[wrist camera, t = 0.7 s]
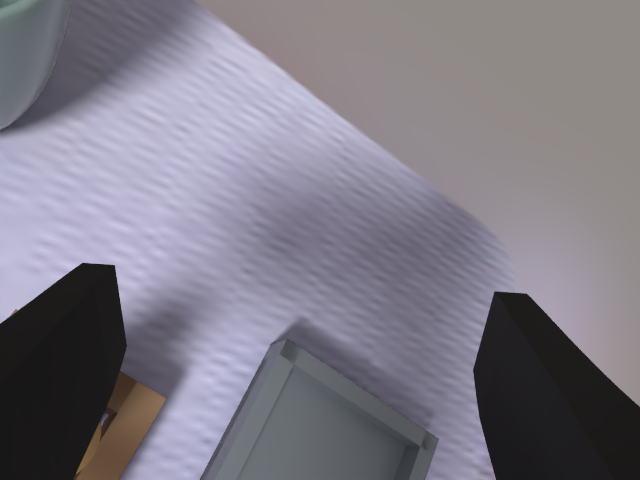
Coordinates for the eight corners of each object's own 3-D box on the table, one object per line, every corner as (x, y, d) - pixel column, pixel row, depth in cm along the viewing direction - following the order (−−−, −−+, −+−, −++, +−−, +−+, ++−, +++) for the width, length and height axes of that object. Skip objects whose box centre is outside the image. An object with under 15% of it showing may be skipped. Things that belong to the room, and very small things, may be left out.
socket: (59, 560, 22) (64, 570, 21) (-110, 476, 21) (-119, 480, 19) (154, 401, 25) (166, 399, 24) (13, 318, 24) (15, 309, 22)
